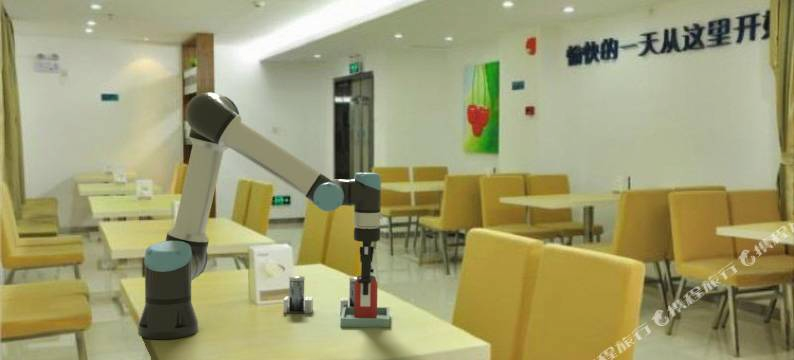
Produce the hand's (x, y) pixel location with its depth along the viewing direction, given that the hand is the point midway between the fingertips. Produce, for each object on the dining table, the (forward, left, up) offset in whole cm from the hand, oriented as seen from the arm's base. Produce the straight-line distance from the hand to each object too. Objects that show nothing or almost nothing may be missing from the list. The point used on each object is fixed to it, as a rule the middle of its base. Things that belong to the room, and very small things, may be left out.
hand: (365, 300), depth 201 cm
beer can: (0, 0, -6) cm, 6 cm away
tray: (0, 0, -6) cm, 6 cm away
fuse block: (+10, +12, -6) cm, 17 cm away
